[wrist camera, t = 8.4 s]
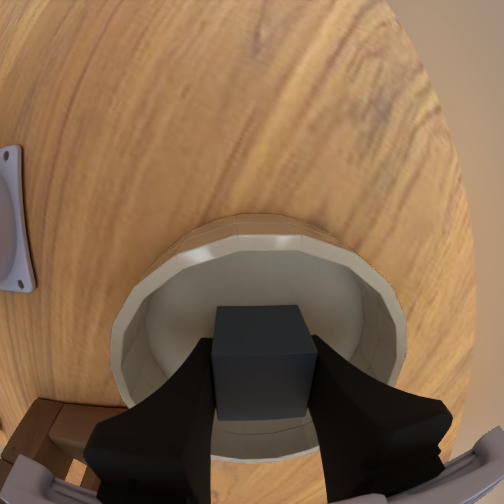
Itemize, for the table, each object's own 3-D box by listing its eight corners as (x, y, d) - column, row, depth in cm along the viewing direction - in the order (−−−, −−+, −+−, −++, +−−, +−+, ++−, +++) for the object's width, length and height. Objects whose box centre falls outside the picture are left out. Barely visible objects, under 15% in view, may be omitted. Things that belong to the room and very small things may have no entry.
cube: (220, 368, 13) (217, 421, 10) (216, 305, 12) (210, 355, 9) (291, 365, 13) (305, 417, 10) (297, 304, 12) (318, 351, 9)
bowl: (160, 407, 15) (147, 457, 11) (125, 215, 11) (80, 237, 7) (345, 401, 15) (365, 447, 11) (383, 216, 12) (435, 237, 8)
